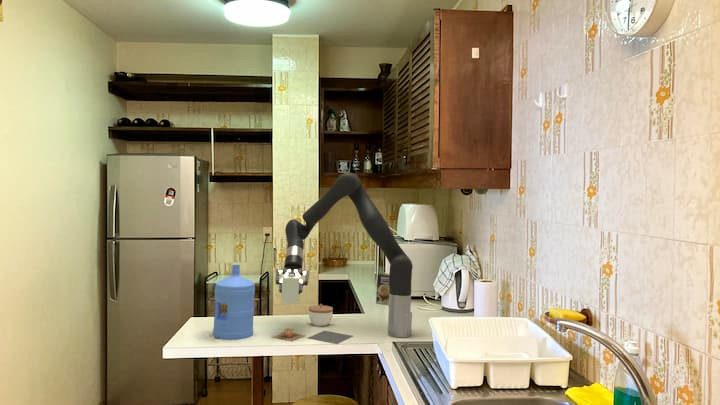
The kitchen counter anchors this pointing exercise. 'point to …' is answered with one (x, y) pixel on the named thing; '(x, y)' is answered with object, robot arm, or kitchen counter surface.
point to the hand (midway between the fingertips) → (290, 292)
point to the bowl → (288, 332)
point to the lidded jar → (320, 315)
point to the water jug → (234, 306)
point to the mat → (330, 337)
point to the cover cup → (290, 289)
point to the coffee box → (382, 289)
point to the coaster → (283, 337)
